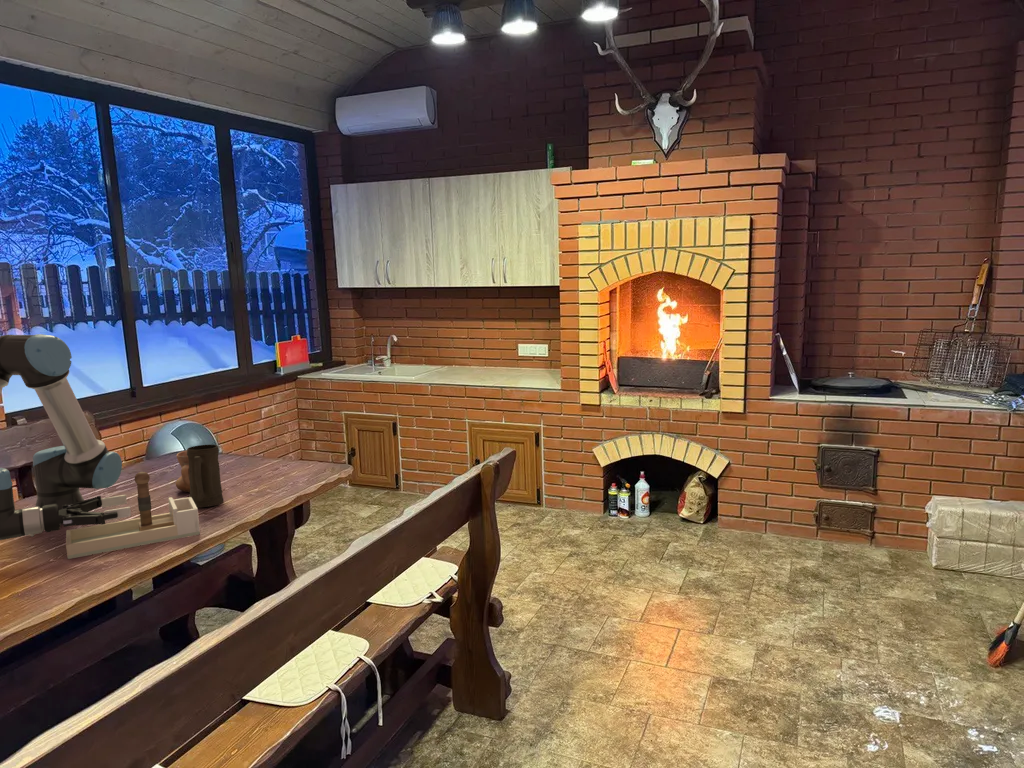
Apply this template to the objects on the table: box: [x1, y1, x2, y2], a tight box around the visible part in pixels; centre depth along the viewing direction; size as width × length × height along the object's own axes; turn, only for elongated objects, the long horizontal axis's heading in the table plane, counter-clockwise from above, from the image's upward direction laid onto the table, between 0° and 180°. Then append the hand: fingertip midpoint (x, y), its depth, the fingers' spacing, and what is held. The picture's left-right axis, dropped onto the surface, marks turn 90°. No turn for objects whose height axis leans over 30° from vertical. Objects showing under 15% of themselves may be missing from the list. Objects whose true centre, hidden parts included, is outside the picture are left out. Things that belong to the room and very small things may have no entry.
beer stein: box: [186, 444, 225, 508], centre depth 239 cm, size 15×11×20 cm
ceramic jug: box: [175, 449, 190, 493], centre depth 258 cm, size 18×14×14 cm
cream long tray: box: [65, 496, 201, 560], centre depth 211 cm, size 14×34×9 cm, turn 121°
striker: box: [134, 471, 174, 531], centre depth 213 cm, size 5×10×19 cm, turn 121°
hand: (128, 505), depth 209 cm, fingers open, 13 cm apart
